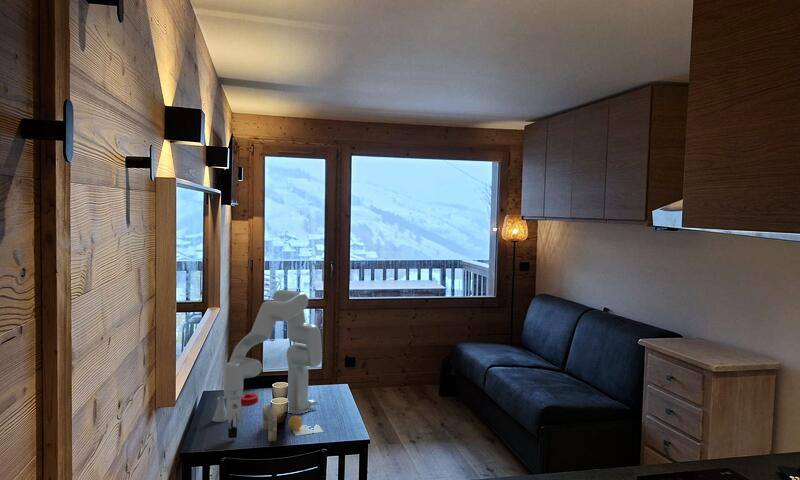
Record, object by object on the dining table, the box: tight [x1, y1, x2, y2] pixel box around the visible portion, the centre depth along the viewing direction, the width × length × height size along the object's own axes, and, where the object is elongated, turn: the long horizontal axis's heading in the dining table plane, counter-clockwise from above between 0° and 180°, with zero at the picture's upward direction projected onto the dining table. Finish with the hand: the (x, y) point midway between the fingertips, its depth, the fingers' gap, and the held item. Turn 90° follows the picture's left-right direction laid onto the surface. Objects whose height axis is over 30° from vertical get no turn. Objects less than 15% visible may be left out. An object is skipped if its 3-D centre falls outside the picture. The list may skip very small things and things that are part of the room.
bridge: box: [261, 404, 278, 442], centre depth 219 cm, size 3×15×10 cm, turn 25°
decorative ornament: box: [241, 392, 259, 406], centre depth 258 cm, size 10×10×3 cm
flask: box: [211, 396, 228, 423], centre depth 234 cm, size 7×7×10 cm
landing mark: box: [291, 423, 324, 437], centre depth 226 cm, size 12×12×1 cm
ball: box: [287, 415, 303, 430], centre depth 225 cm, size 6×6×6 cm
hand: (232, 437), depth 212 cm, fingers closed
